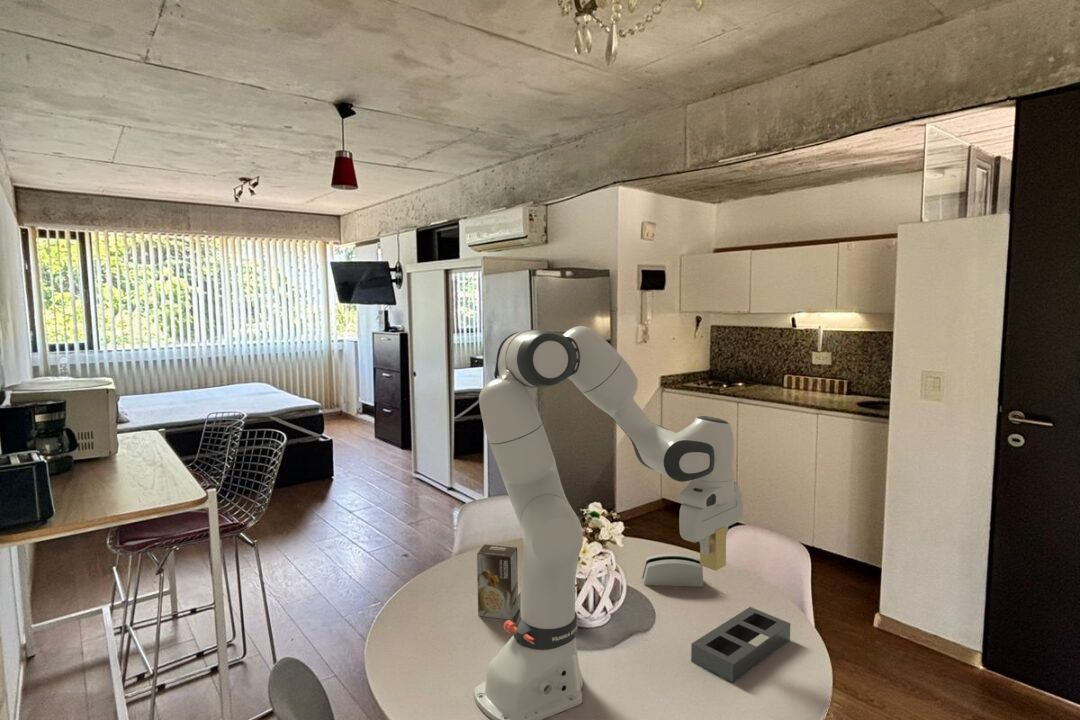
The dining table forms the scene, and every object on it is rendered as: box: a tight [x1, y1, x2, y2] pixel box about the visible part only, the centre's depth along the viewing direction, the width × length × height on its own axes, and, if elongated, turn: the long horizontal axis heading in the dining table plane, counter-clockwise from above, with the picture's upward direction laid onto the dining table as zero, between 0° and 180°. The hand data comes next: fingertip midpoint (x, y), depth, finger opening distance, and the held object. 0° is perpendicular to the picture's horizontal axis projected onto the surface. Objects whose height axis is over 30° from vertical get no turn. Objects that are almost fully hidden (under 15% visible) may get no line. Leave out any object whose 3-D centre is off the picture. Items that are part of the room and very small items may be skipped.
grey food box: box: [476, 544, 519, 621], centre depth 147 cm, size 9×6×16 cm
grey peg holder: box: [690, 606, 791, 684], centre depth 130 cm, size 24×10×4 cm, turn 131°
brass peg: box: [699, 526, 727, 572], centre depth 131 cm, size 4×4×9 cm
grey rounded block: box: [641, 553, 704, 587], centre depth 162 cm, size 17×5×10 cm, turn 86°
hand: (713, 549), depth 131 cm, fingers closed on brass peg, 4 cm apart
